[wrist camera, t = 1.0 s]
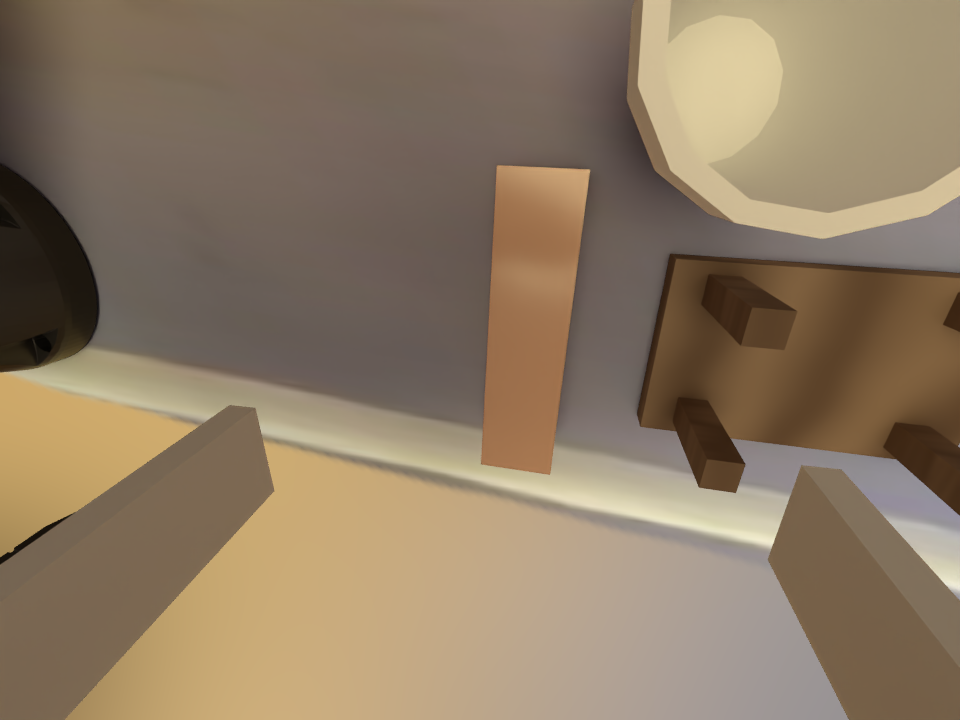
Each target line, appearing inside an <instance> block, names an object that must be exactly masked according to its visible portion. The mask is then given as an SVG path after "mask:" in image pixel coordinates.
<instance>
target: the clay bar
mask: <svg viewBox="0 0 960 720" xmlns="http://www.w3.org/2000/svg"><path fill="white" fill-rule="evenodd" d="M589 174H590V170H588V169H566V168H544V167H522V166H501V165H497V175H496V193H495V212H494V231H493V250H492V269H491V288H490V307H489V326H488V345H487V364H486V383H485V402H484V421H483V440H482V458H481V464H483V465H490V466H496V467H503V468H510V469H516V470H523V471H529V472H536V473H542V474H549V475H550V471H551V463H552V456H553V448H554V440H555V433H556V425H557V418H558V410H559V402H560V395H561V387H562V380H563V372H564V364H565V357H566V349H567V342H568V334H569V326H570V319H571V311H572V304H573V296H574V288H575V281H576V273H577V265H578V258H579V250H580V243H581V235H582V227H583V220H584V212H585V205H586V197H587V189H588V182H589Z"/></svg>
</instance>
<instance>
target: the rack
mask: <svg viewBox="0 0 960 720" xmlns="http://www.w3.org/2000/svg"><path fill="white" fill-rule="evenodd" d="M637 416H638V420H639V423H640V427H647V428H654V429H662V430H670V431H677V434H678V436H679V439H680V441H681V444H682V446H683V449H684V451H685V454H686V456H687V459H688V461H689V464H690V466H691V469H692V471H693V474H694V476H695V479H696V482H697V484H698V487H699V488H706V489H713V490H719V491H726V492H733V493H736V491H737V488H738V485H739V482H740V479H741V476H742V473H743V470H744V467H745V463H744V461H743V459H742V458H741V456H740V454H739V452H738V451H737V449H736V447H735V446H734V444H733V442H732V441H731V439H730V438H733V439H741V440H749V441H757V442H765V443H772V444H780V445H788V446H796V447H804V448H812V449H820V450H827V451H835V452H843V453H851V454H859V455H867V456H875V457H882V458H890V459H897V460H898V461H899V462H900V463H901V464H902V465H904V466H905V467H906V468H907V469H908V470H909V471H910V472H911V473H913V474H914V475H915V476H916V477H917V478H918V479H919V480H920V481H922V482H923V483H924V484H925V485H926V486H927V487H928V488H929V489H930V490H932V491H933V492H934V493H935V494H936V495H937V496H938V497H939V498H941V499H942V500H943V501H944V502H945V503H946V504H947V505H948V506H949V507H951V508H952V509H953V510H954V511H955V512H956V513H957V514H958V515H960V448H959V447H958V445H959V443H960V273H950V272H935V271H920V270H905V269H890V268H875V267H860V266H845V265H830V264H815V263H800V262H785V261H770V260H755V259H740V258H725V257H710V256H695V255H680V254H670V258H669V263H668V267H667V272H666V277H665V282H664V287H663V292H662V296H661V301H660V306H659V311H658V316H657V320H656V325H655V330H654V335H653V340H652V345H651V349H650V354H649V359H648V364H647V369H646V373H645V378H644V383H643V388H642V393H641V398H640V402H639V407H638V412H637Z"/></svg>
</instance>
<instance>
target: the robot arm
mask: <svg viewBox="0 0 960 720" xmlns="http://www.w3.org/2000/svg"><path fill="white" fill-rule="evenodd" d="M96 315H97V302H96V293H95V288H94V283H93V279H92V276H91V273H90V270H89V267H88V264H87V262H86V260H85V257H84V255H83V253H82V251H81V249H80V247H79V245H78V243H77V241H76V240H75V238H74V236H73V235H72V233H71V231H70V230H69V228H68V227H67V225H66V224H65V223H64V221H63V220H62V219H61V217H60V216H59V215H58V213H57V212H56V211H55V210H54V209H53V207H52V206H51V205H50V204H49V203H48V202H47V201H46V200H45V199H44V198H43V197H42V196H41V195H40V194H39V193H38V192H37V191H36V190H35V189H34V188H33V187H32V186H30V185H29V184H28V183H27V182H26V181H24V180H23V179H22V178H20V177H19V176H18V175H16V174H15V173H13V172H12V171H10V170H9V169H7V168H5V167H4V166H2V165H0V372H10V371H20V370H29V369H34V368H39V367H42V366H45V365H48V364H51V363H53V362H56V361H59V360H61V359H64V358H67V357H69V356H72V355H74V354H75V353H77V352H78V351H80V350H81V349H82V348H83V347H84V346H85V345H86V344H87V342H88V341H89V339H90V337H91V335H92V333H93V330H94V327H95V323H96ZM273 492H274V488H273V483H272V479H271V475H270V470H269V466H268V462H267V457H266V453H265V449H264V444H263V440H262V435H261V431H260V426H259V422H258V418H257V413H256V409H255V408H251V407H242V406H232V405H229V406H228V407H226V408H225V409H224V410H222V411H221V412H219V413H218V414H216V415H215V416H213V417H212V418H211V419H209V420H208V421H206V422H205V423H203V424H202V425H201V426H199V427H198V428H196V429H195V430H193V431H192V432H190V433H189V434H188V435H186V436H185V437H183V438H182V439H181V440H179V441H178V442H176V443H175V444H173V445H172V446H170V447H169V448H167V449H166V450H165V451H163V452H162V453H160V454H159V455H157V456H156V457H155V458H153V459H152V460H150V461H149V462H147V463H146V464H144V465H143V466H142V467H140V468H139V469H137V470H136V471H134V472H133V473H132V474H130V475H129V476H127V477H126V478H124V479H123V480H121V481H120V482H119V483H117V484H116V485H114V486H113V487H111V488H110V489H109V490H107V491H106V492H104V493H103V494H101V495H100V496H98V497H97V498H96V499H94V500H93V501H91V502H90V503H89V504H87V505H85V506H84V507H83V508H81V509H80V510H78V511H77V512H75V513H73V514H71V515H69V516H67V517H64V518H63V519H60V520H58V521H56V522H54V523H52V524H50V525H48V526H46V527H44V528H43V529H41V530H40V531H38V532H37V533H35V534H34V535H33V536H31V537H29V538H28V539H27V540H25V541H24V542H22V543H21V544H19V545H18V546H16V547H15V548H14V551H13V552H11V553H9V552H7V553H6V554H5V555H3V556H2V557H0V720H65V718H66V717H67V716H68V715H69V714H70V713H71V712H72V711H73V710H74V709H75V708H76V706H77V705H78V704H79V703H80V702H81V701H82V700H83V699H84V698H85V697H86V696H87V694H88V693H89V692H90V691H91V690H92V689H93V688H94V687H95V686H96V685H97V683H98V682H99V681H100V680H101V679H102V678H103V677H104V676H105V675H106V674H107V673H108V672H109V670H110V669H111V668H112V667H113V666H114V665H115V664H116V663H117V662H118V661H119V660H120V658H121V657H122V656H123V655H124V654H125V653H126V652H127V650H129V649H130V648H131V646H132V645H133V644H134V643H135V642H136V641H137V640H138V639H139V638H140V637H141V636H142V635H143V633H144V632H145V631H146V630H147V629H148V628H149V627H150V626H151V625H152V624H153V622H154V621H155V620H156V619H157V618H158V617H159V616H160V615H161V614H162V613H163V612H164V610H165V609H166V608H167V607H168V606H169V605H170V604H171V603H172V602H173V601H174V600H175V599H176V597H177V596H178V595H179V594H180V593H181V592H182V591H183V590H184V589H185V588H186V586H187V585H188V584H189V583H190V582H191V581H192V580H193V579H194V578H195V577H196V575H198V573H199V572H200V571H201V570H202V569H203V568H204V567H205V566H206V565H207V563H209V561H210V560H211V559H212V558H213V557H214V556H215V555H216V554H217V553H218V552H219V551H220V549H221V548H222V547H223V546H224V545H225V544H226V543H227V542H228V541H229V539H231V537H232V536H233V535H234V534H235V533H236V532H237V531H238V530H239V529H240V528H241V527H242V525H243V524H244V523H245V522H246V521H247V520H248V519H249V518H250V517H251V516H252V515H253V513H254V512H255V511H256V510H257V509H258V508H259V507H260V506H261V505H262V504H263V503H264V502H265V500H266V499H267V498H268V497H269V496H270V495H271V494H272V493H273ZM768 561H769V563H770V565H771V567H772V569H773V571H774V573H775V575H776V577H777V579H778V580H779V582H780V585H781V586H782V588H783V590H784V592H785V594H786V596H787V598H788V600H789V602H790V604H791V606H792V608H793V610H794V612H795V614H796V616H797V618H798V620H799V622H800V624H801V626H802V628H803V630H804V632H805V634H806V636H807V638H808V640H809V642H810V644H811V646H812V648H813V650H814V652H815V654H816V656H817V658H818V660H819V662H820V663H821V666H822V668H823V669H824V671H825V673H826V675H827V677H828V679H829V681H830V683H831V685H832V687H833V689H834V691H835V693H836V695H837V697H838V699H839V701H840V703H841V705H842V707H843V709H844V711H845V713H846V715H847V717H848V719H849V720H960V601H959V599H958V598H957V597H956V596H955V595H954V594H953V593H952V592H951V591H950V589H949V588H948V587H947V586H946V585H945V584H944V583H943V582H942V581H941V579H940V578H939V577H938V576H937V575H936V574H935V573H934V572H933V571H932V569H931V568H930V567H929V566H928V565H927V564H926V563H925V562H924V561H923V560H922V558H921V557H920V556H919V555H918V554H917V553H916V552H915V551H914V550H913V548H912V547H911V546H910V545H909V544H908V543H907V542H906V541H905V540H904V538H903V537H902V536H901V535H900V534H899V533H898V532H897V531H896V530H895V528H894V527H893V526H892V525H891V524H890V523H889V522H888V521H887V520H886V519H885V517H884V516H883V515H882V514H881V513H880V512H879V511H878V510H877V509H876V507H875V506H874V505H873V504H872V503H871V502H870V501H869V500H868V499H867V497H866V496H865V495H864V494H863V493H862V492H861V491H860V490H859V489H858V487H857V486H856V485H855V484H854V483H853V482H852V481H851V480H850V479H849V477H848V476H847V475H846V474H845V473H844V472H843V471H842V470H841V469H831V468H822V467H812V466H803V465H802V466H801V468H800V471H799V474H798V477H797V479H796V482H795V485H794V488H793V491H792V493H791V496H790V499H789V502H788V505H787V507H786V510H785V513H784V516H783V519H782V521H781V524H780V527H779V530H778V532H777V535H776V538H775V541H774V544H773V546H772V549H771V552H770V555H769V558H768Z"/></svg>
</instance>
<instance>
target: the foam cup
mask: <svg viewBox="0 0 960 720" xmlns="http://www.w3.org/2000/svg"><path fill="white" fill-rule="evenodd" d="M627 102H628V105H629V107H630V110H631V112H632V115H633V117H634V120H635V122H636V125H637V127H638V130H639V132H640V135H641V137H642V140H643V142H644V145H645V148H646V150H647V153H648V155H649V158H650V160H651V163H652V165H653V168H654V170H655V171H656V172H657V173H658V174H660V175H661V176H662V177H663V178H664V179H666V180H667V181H668V182H669V183H671V184H672V185H673V186H674V187H676V188H677V189H678V190H679V191H681V192H682V193H683V194H684V195H685V196H687V197H688V198H689V199H690V200H692V201H693V202H694V203H695V204H697V205H698V206H699V207H700V208H702V209H703V210H704V211H705V212H706V213H708V214H709V215H712V216H715V217H718V218H721V219H724V220H727V221H730V222H734V223H738V224H744V225H749V226H754V227H760V228H765V229H771V230H776V231H782V232H787V233H793V234H798V235H804V236H809V237H815V238H820V239H825V238H829V237H834V236H838V235H842V234H847V233H851V232H856V231H860V230H864V229H869V228H873V227H877V226H882V225H886V224H891V223H895V222H899V221H904V220H908V219H912V218H917V217H921V216H926V215H928V214H930V213H932V212H933V211H935V210H937V209H938V208H940V207H941V206H943V205H945V204H946V203H948V202H950V201H951V200H953V199H955V198H956V197H958V196H959V195H960V0H635V1H634V4H633V7H632V15H631V32H630V49H629V67H628V84H627Z"/></svg>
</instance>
